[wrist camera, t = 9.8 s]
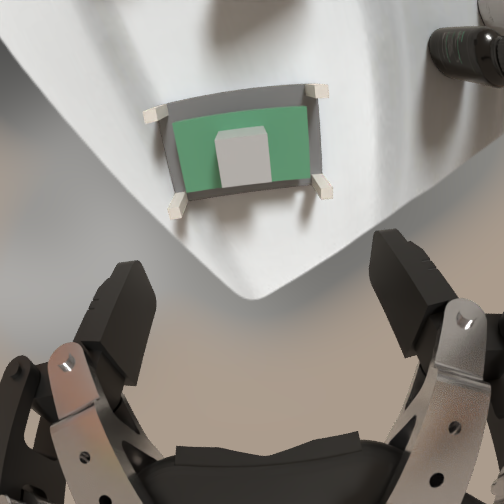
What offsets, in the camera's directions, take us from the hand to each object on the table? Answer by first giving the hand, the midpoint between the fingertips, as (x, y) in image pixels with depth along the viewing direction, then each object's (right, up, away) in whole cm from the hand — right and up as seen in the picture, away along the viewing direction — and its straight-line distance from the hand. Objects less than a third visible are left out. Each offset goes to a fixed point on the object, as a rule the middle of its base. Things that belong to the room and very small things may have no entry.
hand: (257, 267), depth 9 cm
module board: (-1, +10, +16) cm, 19 cm away
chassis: (-1, +12, +18) cm, 22 cm away
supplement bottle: (+23, +24, +11) cm, 35 cm away
